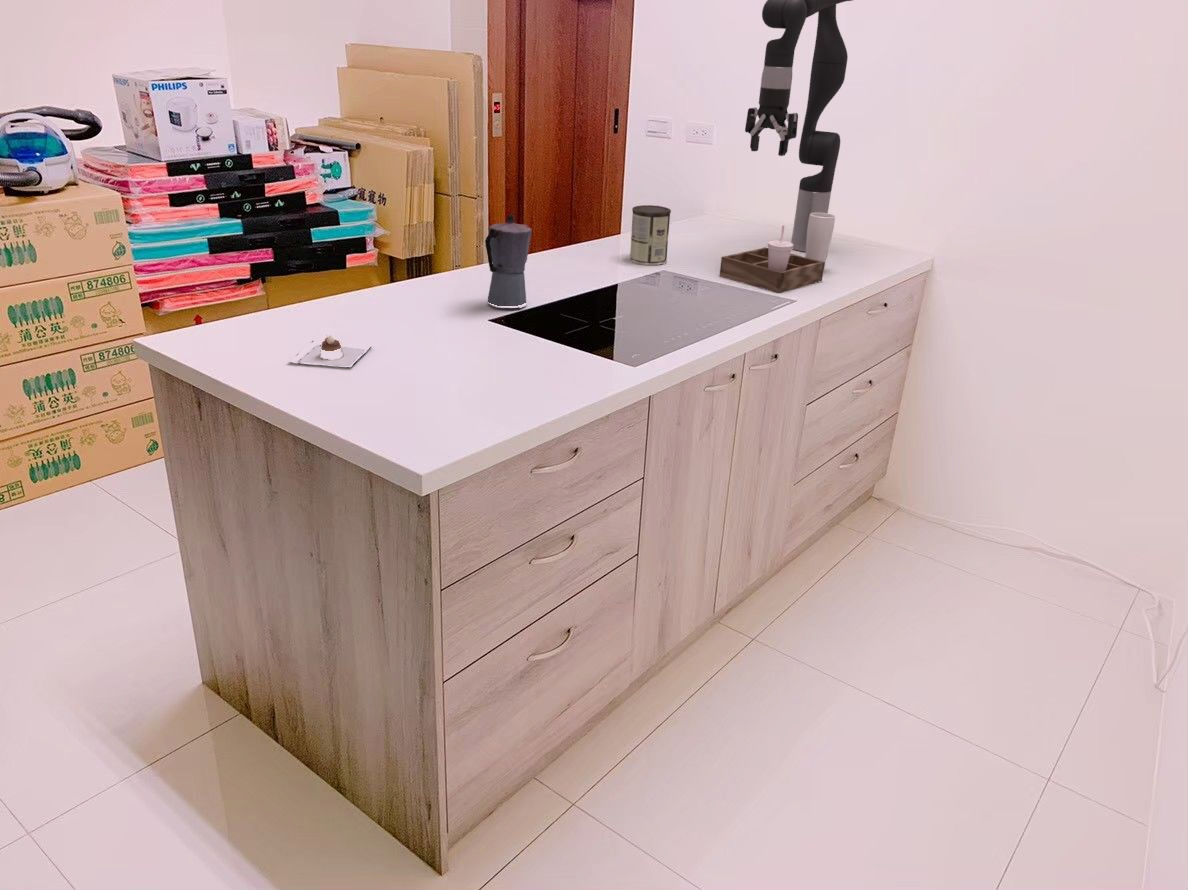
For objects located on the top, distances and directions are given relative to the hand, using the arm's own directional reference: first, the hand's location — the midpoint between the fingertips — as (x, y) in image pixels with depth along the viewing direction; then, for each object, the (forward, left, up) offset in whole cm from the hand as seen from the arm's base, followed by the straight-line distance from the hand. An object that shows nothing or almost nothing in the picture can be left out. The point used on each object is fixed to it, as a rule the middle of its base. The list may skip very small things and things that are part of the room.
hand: (767, 153), depth 226 cm
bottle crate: (+6, +10, -30) cm, 32 cm away
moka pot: (+77, -11, -30) cm, 83 cm away
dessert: (+124, -5, -31) cm, 127 cm away
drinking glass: (-11, +12, -30) cm, 34 cm away
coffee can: (+20, -21, -30) cm, 42 cm away
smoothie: (+11, +15, -29) cm, 34 cm away
